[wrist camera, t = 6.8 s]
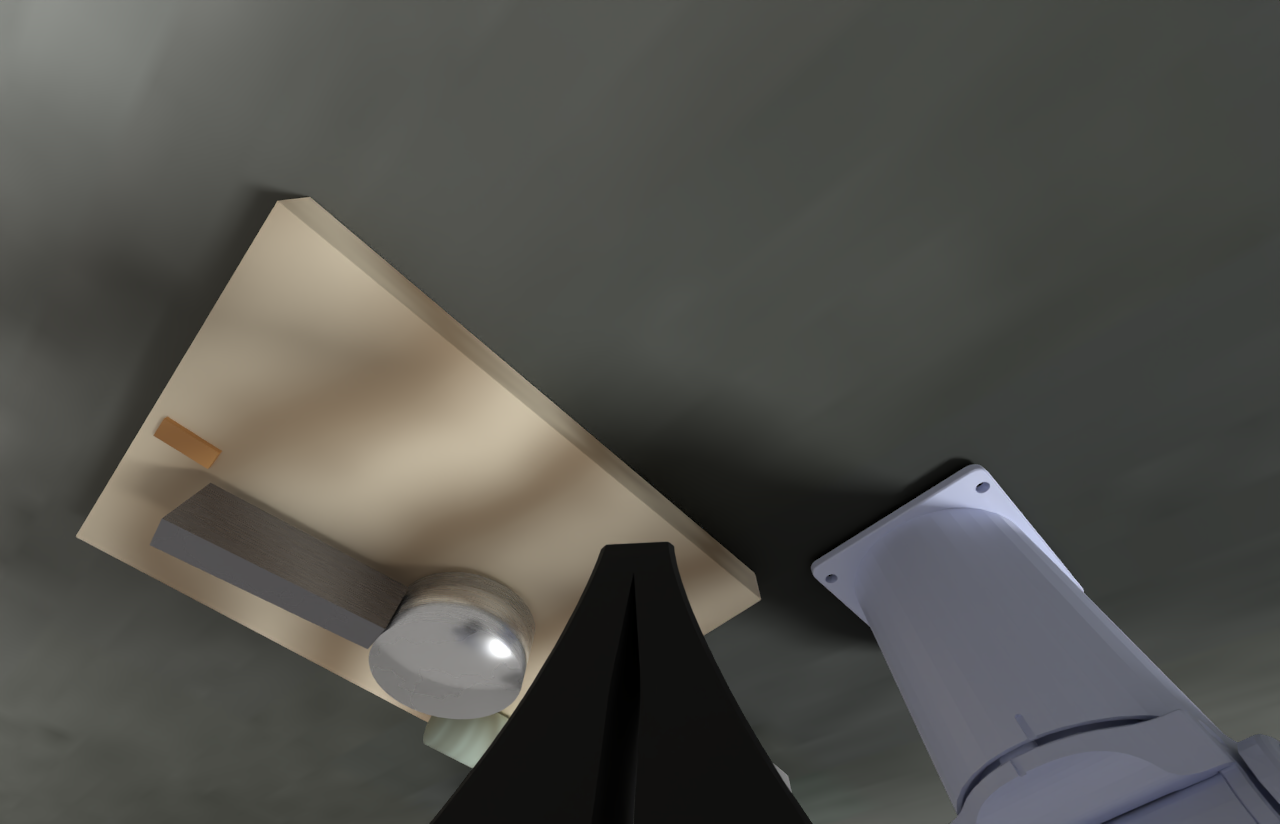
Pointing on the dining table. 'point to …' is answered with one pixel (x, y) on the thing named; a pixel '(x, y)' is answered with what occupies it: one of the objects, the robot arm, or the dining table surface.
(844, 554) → the robot arm
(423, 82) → the dining table surface
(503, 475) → the oak board
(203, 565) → the grey spoon
